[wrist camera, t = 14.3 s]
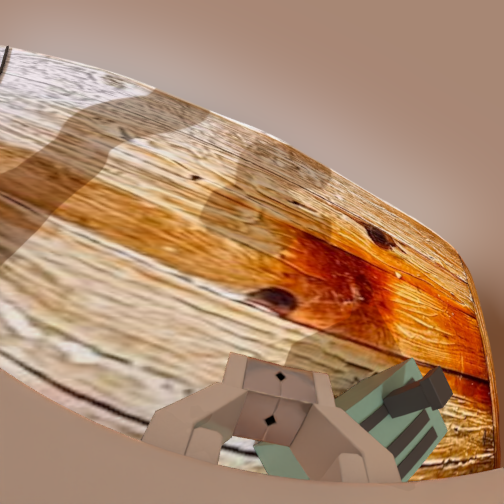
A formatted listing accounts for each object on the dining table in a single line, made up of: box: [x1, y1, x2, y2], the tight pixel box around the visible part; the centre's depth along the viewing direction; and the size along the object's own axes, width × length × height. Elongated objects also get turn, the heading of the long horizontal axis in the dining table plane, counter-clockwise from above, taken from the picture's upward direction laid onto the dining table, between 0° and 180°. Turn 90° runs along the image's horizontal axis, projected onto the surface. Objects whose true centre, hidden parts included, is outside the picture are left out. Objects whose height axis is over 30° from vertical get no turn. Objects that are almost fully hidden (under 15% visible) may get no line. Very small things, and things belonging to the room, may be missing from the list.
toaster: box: [253, 358, 447, 482], centre depth 27 cm, size 11×18×9 cm, turn 116°
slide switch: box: [383, 366, 453, 419], centre depth 24 cm, size 3×2×6 cm
